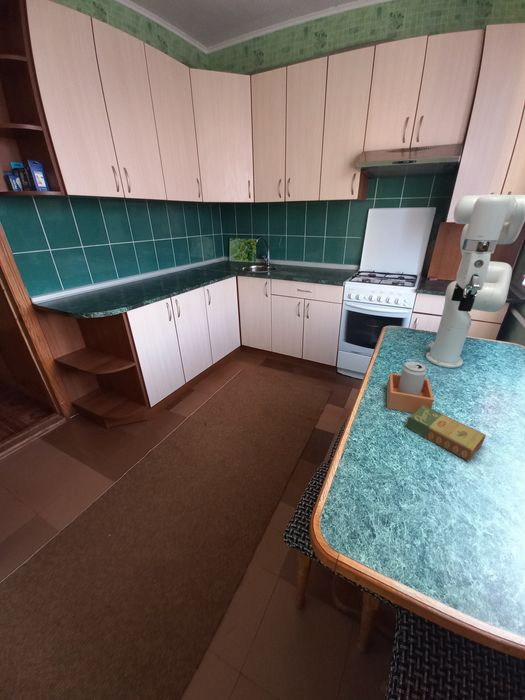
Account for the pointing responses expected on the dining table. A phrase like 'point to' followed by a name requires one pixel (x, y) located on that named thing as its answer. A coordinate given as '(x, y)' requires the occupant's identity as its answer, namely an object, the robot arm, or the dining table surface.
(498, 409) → the dining table surface
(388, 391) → the bin
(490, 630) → the dining table surface
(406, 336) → the dining table surface
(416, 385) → the beverage can
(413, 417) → the carton
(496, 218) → the robot arm
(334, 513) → the dining table surface
